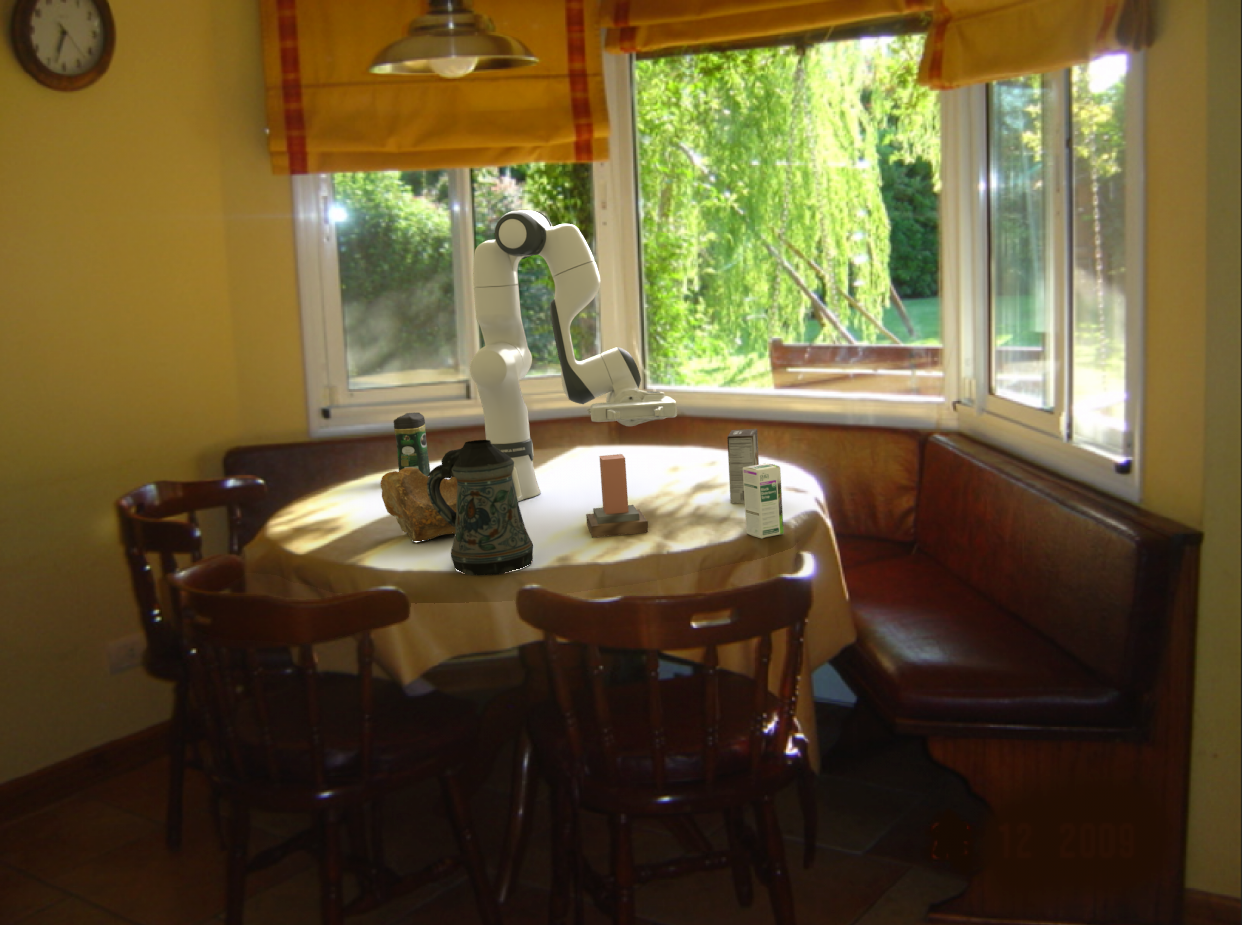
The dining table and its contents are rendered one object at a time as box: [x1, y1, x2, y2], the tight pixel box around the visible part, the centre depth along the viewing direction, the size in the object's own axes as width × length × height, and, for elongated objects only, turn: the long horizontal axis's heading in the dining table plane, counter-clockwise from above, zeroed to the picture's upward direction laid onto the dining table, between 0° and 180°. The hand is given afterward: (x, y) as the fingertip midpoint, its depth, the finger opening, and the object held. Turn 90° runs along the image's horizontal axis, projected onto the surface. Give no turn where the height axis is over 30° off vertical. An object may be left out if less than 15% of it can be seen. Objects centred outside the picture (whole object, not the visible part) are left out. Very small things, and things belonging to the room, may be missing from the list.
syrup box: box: [743, 462, 784, 539], centre depth 247 cm, size 6×6×14 cm
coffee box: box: [726, 428, 760, 504], centre depth 280 cm, size 9×6×16 cm
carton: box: [599, 453, 629, 514], centre depth 259 cm, size 5×5×12 cm
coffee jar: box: [393, 412, 431, 477], centre depth 331 cm, size 10×8×19 cm
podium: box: [585, 504, 649, 538], centre depth 260 cm, size 12×12×4 cm
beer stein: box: [427, 439, 534, 577], centre depth 235 cm, size 16×19×25 cm
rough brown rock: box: [379, 467, 457, 541], centre depth 263 cm, size 23×17×15 cm
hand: (637, 415), depth 272 cm, fingers open, 8 cm apart
